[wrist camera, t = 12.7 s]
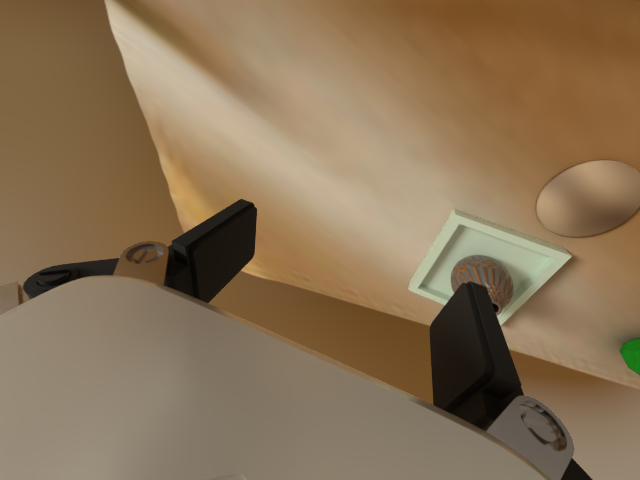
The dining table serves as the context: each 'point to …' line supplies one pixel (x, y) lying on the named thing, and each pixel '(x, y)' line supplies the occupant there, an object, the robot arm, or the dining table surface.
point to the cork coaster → (589, 198)
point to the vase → (485, 278)
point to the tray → (490, 240)
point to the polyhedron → (632, 354)
